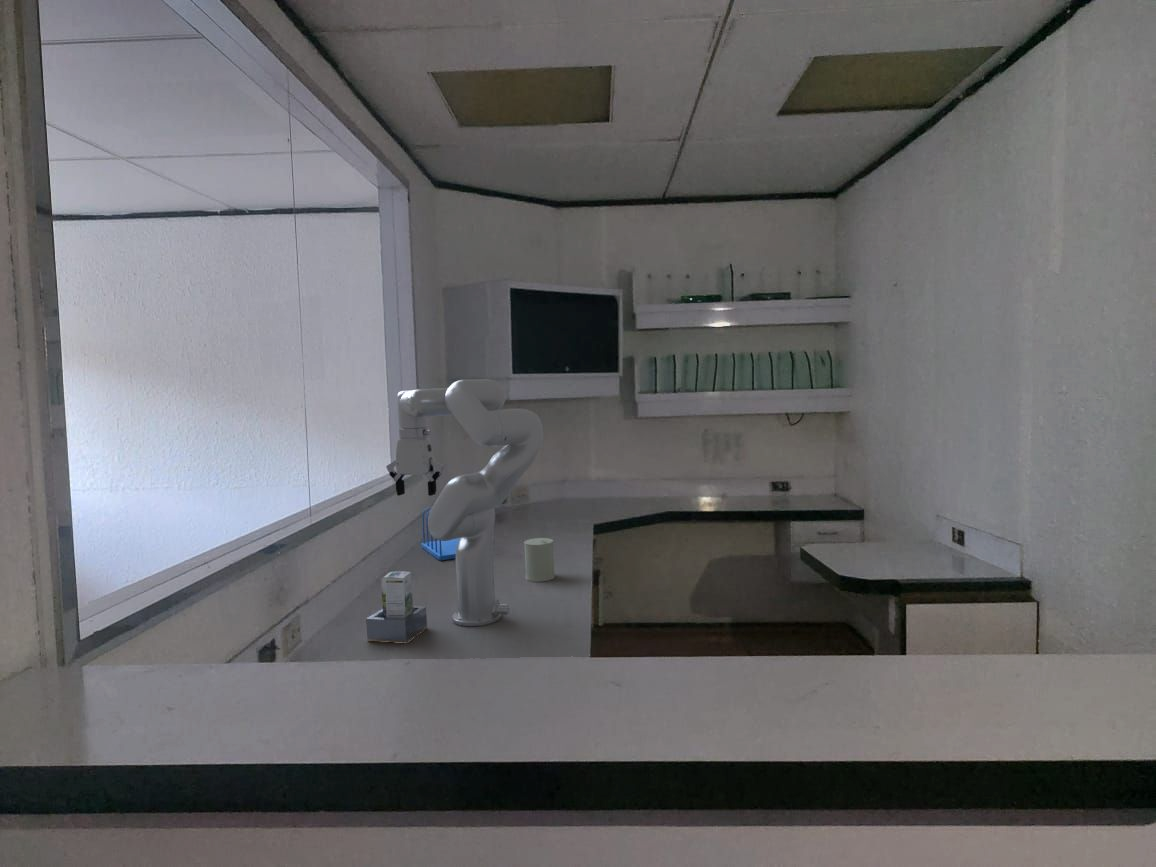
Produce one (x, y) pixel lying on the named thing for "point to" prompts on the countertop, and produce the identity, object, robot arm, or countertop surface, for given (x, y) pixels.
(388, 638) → the shadow box frame
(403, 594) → the syrup box
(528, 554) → the can
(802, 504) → the countertop surface
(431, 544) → the file sorter
